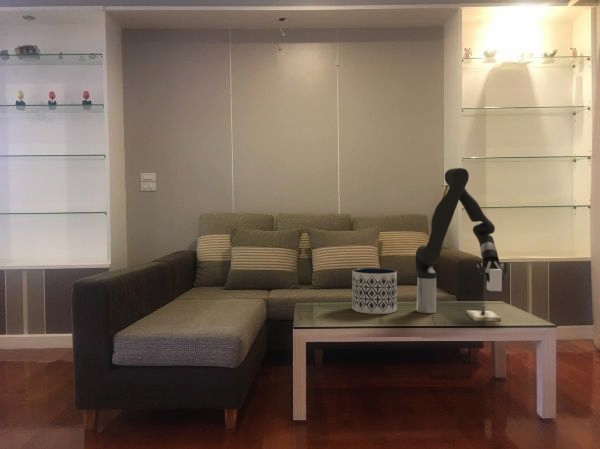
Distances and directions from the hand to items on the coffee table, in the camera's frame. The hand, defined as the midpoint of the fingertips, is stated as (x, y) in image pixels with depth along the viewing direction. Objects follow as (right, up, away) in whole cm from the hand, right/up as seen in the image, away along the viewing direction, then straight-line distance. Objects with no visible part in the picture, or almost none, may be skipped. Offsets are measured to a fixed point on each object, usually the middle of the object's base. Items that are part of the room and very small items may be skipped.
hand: (495, 280), depth 236 cm
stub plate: (-5, -18, +3) cm, 19 cm away
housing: (0, -5, +2) cm, 5 cm away
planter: (-54, -17, +19) cm, 60 cm away
